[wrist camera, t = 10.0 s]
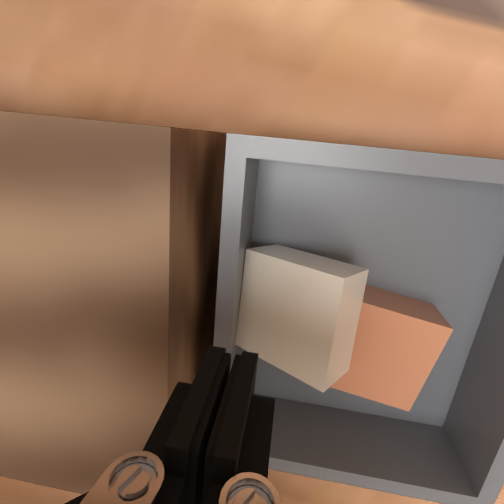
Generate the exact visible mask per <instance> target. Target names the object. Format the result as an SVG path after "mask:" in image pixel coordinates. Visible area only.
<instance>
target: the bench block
mask: <svg viewBox="0 0 504 504" xmlns="http://www.w3.org/2000/svg"><path fill="white" fill-rule="evenodd" d="M226 137H227V133H220V132H211V131H201V130H192V129H182V128H173V127H162V126H152V125H142V124H131V123H121V122H110V121H100V120H90V119H79V118H69V117H59V116H48V115H38V114H27V113H17V112H7V111H0V476H2V477H7V478H12V479H16V480H21V481H25V482H30V483H34V484H39V485H44V486H48V487H53V488H57V489H62V490H66V491H71V492H76V493H80V494H85V493H87V492H89V491H90V490H91V488H92V487H93V486H94V484H95V483H96V482H97V481H98V479H99V478H100V477H101V475H102V474H103V473H104V471H105V470H106V469H107V468H108V467H109V466H110V464H111V463H112V462H113V461H114V460H116V459H117V458H119V457H120V456H122V455H124V454H126V453H129V452H132V451H141V450H143V448H144V446H145V444H146V442H147V440H148V439H149V437H150V435H151V433H152V431H153V429H154V427H155V425H156V423H157V421H158V419H159V417H160V415H161V413H162V411H163V409H164V407H165V405H166V404H167V402H168V400H169V398H170V396H171V394H172V392H173V390H174V388H175V386H176V385H177V383H178V382H184V383H190V384H192V383H193V381H194V379H195V376H196V374H197V372H198V370H199V368H200V365H201V363H202V361H203V359H204V356H205V354H206V352H207V350H208V348H209V346H213V343H214V327H215V311H216V295H217V280H218V264H219V248H220V232H221V216H222V200H223V184H224V168H225V152H226Z"/></svg>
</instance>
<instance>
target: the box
mask: <svg viewBox="0 0 504 504" xmlns="http://www.w3.org/2000/svg"><path fill="white" fill-rule="evenodd" d="M275 244H278V245H282V246H286V247H289V248H293V249H297V250H301V251H304V252H308V253H312V254H315V255H319V256H323V257H326V258H330V259H334V260H337V261H341V262H345V263H348V264H352V265H356V266H360V267H363V268H367V269H369V272H368V277H367V282H366V285H369V286H373V287H376V288H380V289H383V290H387V291H390V292H393V293H397V294H400V295H404V296H407V297H411V298H414V299H417V300H421V301H424V302H428V303H431V304H434V306H435V307H436V308H437V309H438V310H439V312H440V313H441V314H442V315H443V317H444V318H445V319H446V320H447V322H448V323H449V324H450V325H451V327H452V328H453V329H454V330H453V332H452V333H451V335H450V337H449V339H448V341H447V343H446V344H445V346H444V348H443V350H442V352H441V354H440V355H439V357H438V359H437V361H436V363H435V365H434V367H433V368H432V370H431V372H430V374H429V376H428V378H427V379H426V381H425V383H424V385H423V387H422V389H421V390H420V392H419V394H418V396H417V398H416V400H415V402H414V403H413V405H412V407H411V409H410V411H406V410H403V409H399V408H396V407H393V406H390V405H386V404H383V403H380V402H377V401H373V400H370V399H367V398H364V397H360V396H357V395H354V394H351V393H348V392H344V391H341V390H338V389H335V388H331V387H329V388H328V389H327V390H326V391H325V392H324V393H323V392H321V391H319V390H317V389H315V388H314V387H312V386H310V385H308V384H306V383H305V382H303V381H301V380H299V379H297V378H295V377H294V376H292V375H290V374H288V373H286V372H285V371H283V370H281V369H279V368H277V367H275V366H274V365H272V364H270V363H268V362H266V361H264V360H263V359H261V358H259V357H258V363H257V372H256V380H255V389H254V395H258V396H263V397H269V398H275V408H274V417H273V427H272V437H271V447H270V457H269V467H268V469H271V470H277V471H282V472H287V473H292V474H297V475H302V476H307V477H312V478H317V479H322V480H327V481H332V482H337V483H342V484H347V485H352V486H357V487H362V488H367V489H372V490H377V491H382V492H387V493H392V494H397V495H402V496H408V497H413V498H418V499H423V500H428V501H433V502H438V503H443V504H494V503H495V501H496V499H497V497H498V495H499V493H500V491H501V488H502V486H503V484H504V160H502V159H492V158H481V157H471V156H461V155H450V154H440V153H429V152H419V151H409V150H398V149H388V148H378V147H367V146H357V145H346V144H336V143H326V142H315V141H305V140H295V139H284V138H274V137H263V136H253V135H243V134H232V133H227V137H226V152H225V168H224V184H223V200H222V216H221V232H220V248H219V264H218V280H217V295H216V311H215V327H214V343H213V346H216V347H222V348H226V353H231V364H230V371H231V367H232V364H233V361H234V358H235V355H236V354H238V355H241V354H242V351H246V350H244V349H243V348H241V347H239V346H237V345H235V344H236V335H237V326H238V317H239V308H240V299H241V290H242V282H243V273H244V264H245V255H246V249H248V248H255V247H262V246H268V245H275ZM247 352H248V351H247Z"/></svg>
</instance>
